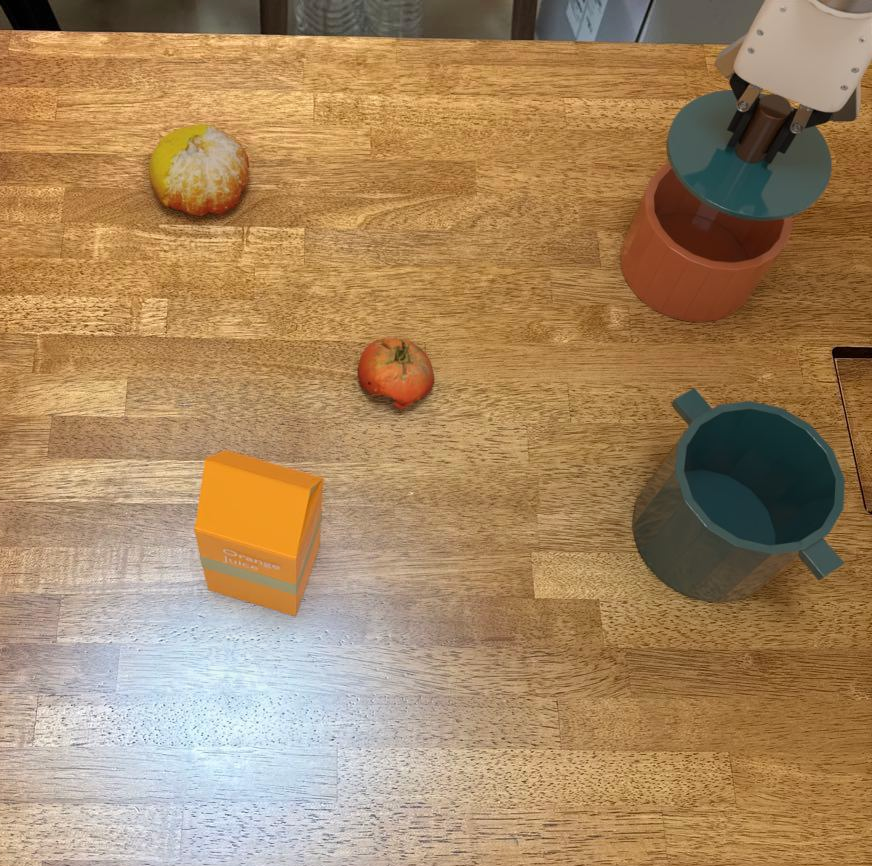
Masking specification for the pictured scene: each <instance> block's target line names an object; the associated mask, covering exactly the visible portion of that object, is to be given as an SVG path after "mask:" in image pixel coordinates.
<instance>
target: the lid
mask: <svg viewBox="0 0 872 866" xmlns="http://www.w3.org/2000/svg"><path fill="white" fill-rule="evenodd" d="M759 98H760V100H759V102H758V104H757V106H756V107H755V110H754V112H753V114H752V116H751V118H750V120H749V122H748V124H747V126H746V128H745V129H744V131H743V133H742V135H741V137H740V139H739V140H738V142H737V144H736V146H735V147H732V148H731V147H728V146H727V145H728V143H729V141H730V139H731V137H732V135H733V133H732V132H730V131H728V130H727V128H728V126H729V125H730V123H731V121H732V119H733V117H734V115H735V113H736V111H737V108H736V104H737V99H736V97H735V95H734V93H733V91H732V89H725V90H718V91H717V90H716V91H712V92H709V93H705V94H703V95H700V96H698V97H696V98H694V99H693V100H691V101H689V102H688V103H687V104H686V105H684V106H683V107H682V108H681V109H680V110H679V111H678V112H677V113H676V115H675V116H674V118H673V120H672V122H671V124H670V127H669V129H668V131H667V135H666V155H667V160H668V162H669V163H670V165H671V167H672V170H673V172H674V173H675V175H676V177H677V178H678V180H679V181H680V182H681V183H682V185H683V186H684V187H685V188H686V189H687V190H688V191H689V192H690V193H691V194H692V195H693V196H695V197H696V198H697V199H698V200H700V201H701V202H703V203H704V204H706V205H708V206H709V207H711V208H713V209H715V210H717V211H719V212H722V213H725V214H727V215H730V216H734V217H737V218H741V219H747V220H756V221H771V220H779V219H784V218H788V217H791V216H792V217H794V216H796V215H799V214H801V213H803V212H804V211H806V210H808V209H809V208H811V207H812V206H813V205H814V204H815V203H816V202H817V201H818V200H819V199H820V198H821V197H822V196H823V194H824V192H825V190H826V189H827V187H828V185H829V183H830V179H831V176H832V170H833V164H832V163H833V162H832V156H831V151H830V148H829V145H828V142H827V141H826V139H825V137H824V135H823V134H822V133H821V131H820V130H819V128H818V127H817V126H813V127H809V128H805V129H804V130H803V132H802V133H799V134H797V135H796V136H795V138H794V139H793V141H792V143H791V144H790V146H789V148H788V149H787V151H786V153H785V154H783V153H781V152H777V154H776V156H775V157H774V159H773V161H772V162H771V164H769V163H767V162H765V161H766V160H764V159H765V157H766V155H767V153H768V151H769V149H770V147H771V146H772V144H773V142H774V141H775V139H776V137H777V135H778V134H779V132H780V130H781V129H782V127H783V125H784V123H785V122H786V121H787V119H788V117H789V115H790V114H791V111H793V110H794V108H795V107H794V106H793V105H792V104H791V103H790V101H789V99H787V98H785V97H782V96H780V95H777V94H775V93H768V94H765V93H762V92H761V93H760V96H759Z"/></svg>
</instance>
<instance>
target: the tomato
mask: <svg viewBox="0 0 872 866" xmlns="http://www.w3.org/2000/svg"><path fill="white" fill-rule="evenodd" d="M357 377H358V382H359V385H360V388H361V390H362V392H363V393H364V390H365V391H366V392H367V393H369V395H374V396H378V397H379V398H381V395H382V396H385V397H388V398H392V399H394V400H395V401H393V404H394V406H395V407H396V408H397V409H398V410H402V409H405V408H406V407H409V406H411V405H412V404H416V403H417V402H418V401H421V400H422V399H424V398H425V397H427V395H428V394H429V393H430V392H432V390H433V387H434V384H435V373H434V368H433V365H432V362H431V359H430V357H429V356H428V354H427V353H426V352H425V351H424V350H423V348H421V347H420V346H419V345H417V344H415V343H414V342H412V341H410V340H407V339H401V338H396V337H395V338H390V337H388V338H387V337H385V338H380V339H376V340H373V341H372V342H371V343H369V344H368V345H367V346H366V347H365V348H364V350H363V352H362V354H361V355H360V359H359V361H358V365H357ZM386 402H387V404H389V403H390V401H389V400H387V401H386Z"/></svg>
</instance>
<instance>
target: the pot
mask: <svg viewBox="0 0 872 866" xmlns="http://www.w3.org/2000/svg"><path fill="white" fill-rule="evenodd" d="M670 405H671V407H672V408H673V409H674V410H675V411H676V412H677V414H678V415H679V416H680V418H681V419H682V420H683V421H684V422H685V423H686V425H687V426H688V427H686V429H685V430H684V432H683V433H682V435H681V436H680V437H679V438H678V440H677V441H676V442H675V444H674V445H673V447H672V448H671V450H670V451H669V452H668V454H667V455H666V456H665V458H664V459H663V461H662V462H661V464H660V465H659V466H658V468H657V469H656V470H655V472H654V473H653V475H652V476H651V478H650V479H649V480H648V481H647V484H646V485H645V486H644V488H643V489H642V491H641V492H640V494H639V495H638V497H637V498H636V500H635V505H634V509H633V514H632V533H633V537H634V538H633V539H634V542H635V544H636V548H637V550H638V552H639V554H640V556H641V558H642V560H643V561H644V563H645V564H646V566H647V567H648V568H649V570H650V571H651V572H652V573H653V574H654V575H655V576H656V577H657V578H658V579H659V580H660V581H661V582H662V583H663V584H665V585H666V586H668V587H669V588H671V589H672V590H674V591H676V592H677V593H679V594H681V595H684V596H687V597H689V598H692V599H696V600H698V601H703V602H709V603H727V602H733V601H738V600H741V599H745V598H748V597H750V596H751V595H753V594H754V593H756V592H758V591H759V590H761V589H762V588H764V587H765V586H768V584H770V583H771V582H772V581H774V579H776V578H777V577H779V575H781V574H782V573H783V572H784V571H785V570H787V569H788V568H790V567H791V566H792V565H793V564H794V563H795V562H796V561H798V560H799V559H800V561H801V562H802V563H803V564H804V565H805V567H806V568H807V569H808V570H809V571H810V573H811V574H812V575H813V576H814V577H815V579H816V580H818V581H821V580H823V579H824V578H826V577H827V576H829V575H830V574H832V573H833V572H835V571H836V570H838V569H840V568H842V566H844V565H845V562H844V560H843V559H842V558H841V557H840V556H839V554H837V553H836V551H835V550H834V549H833V548H832V546H831V545H830V544H829V543H828V542H827V540H826V539H825V538H826V537H828V535H830V533H831V532H832V530H833V528H834V526H835V525H836V523H837V521H838V519H839V518H840V516H841V514H842V513H843V510H844V509H845V487H846V486H845V485H846V479H845V476H844V474H843V471H842V469H841V466H840V463H839V461H838V458H837V456H836V453H835V451H834V449H833V448H832V447H831V446H830V445H829V443H828V442H827V441H826V440H825V439H824V437H823V436H821V434H820V433H819V432H818V431H817V430H816V429H815V428H814V426H813V425H811V424H810V423H808V422H807V421H805V420H803V419H801V418H800V417H798V416H797V415H794V414H793V413H791V412H790V411H788V410H787V409H785V408H783V407H780V406H774V405H770V404H767V403H761V402H756V401H753V400H752V401H751V400H746V401H737V402H730V403H721V404H718V405H716V406H714V407H712V406H711V405H710V404H709V403H708V402H707V401H706V400H705V398H704V397H703V396H702V395H701V394H700V392H698V390H697V389H696V388H695V387H694V388H691V389H690V390H688V391H686V392H684V393H682V394H680V395H679V396H677V397H675V398H674V399H673V401H672V402H671V404H670Z"/></svg>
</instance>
